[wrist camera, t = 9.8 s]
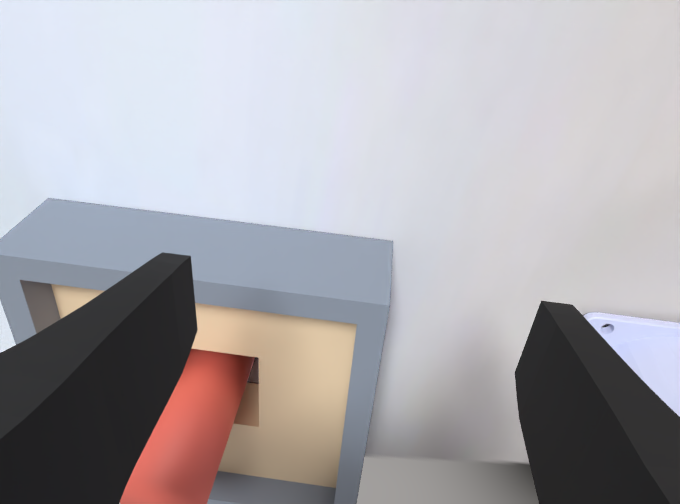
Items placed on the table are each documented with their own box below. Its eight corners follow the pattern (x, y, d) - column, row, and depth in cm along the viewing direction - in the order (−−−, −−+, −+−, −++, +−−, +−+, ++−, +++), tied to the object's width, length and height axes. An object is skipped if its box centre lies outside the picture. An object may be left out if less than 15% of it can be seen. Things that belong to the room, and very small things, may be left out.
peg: (256, 326, 25) (200, 487, 18) (256, 373, 26) (204, 535, 20) (191, 317, 25) (112, 473, 18) (195, 364, 26) (124, 522, 20)
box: (392, 241, 21) (389, 305, 18) (358, 459, 29) (351, 531, 26) (48, 198, 22) (-16, 252, 19) (105, 422, 30) (66, 489, 26)
